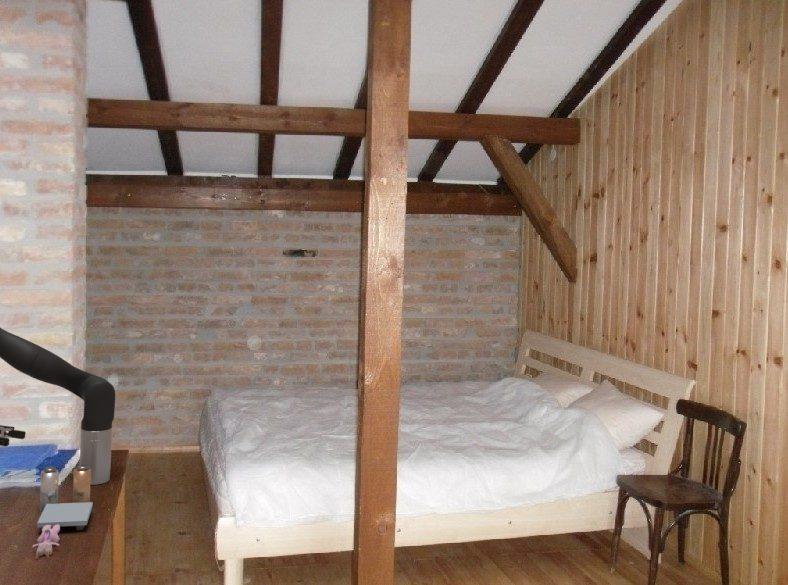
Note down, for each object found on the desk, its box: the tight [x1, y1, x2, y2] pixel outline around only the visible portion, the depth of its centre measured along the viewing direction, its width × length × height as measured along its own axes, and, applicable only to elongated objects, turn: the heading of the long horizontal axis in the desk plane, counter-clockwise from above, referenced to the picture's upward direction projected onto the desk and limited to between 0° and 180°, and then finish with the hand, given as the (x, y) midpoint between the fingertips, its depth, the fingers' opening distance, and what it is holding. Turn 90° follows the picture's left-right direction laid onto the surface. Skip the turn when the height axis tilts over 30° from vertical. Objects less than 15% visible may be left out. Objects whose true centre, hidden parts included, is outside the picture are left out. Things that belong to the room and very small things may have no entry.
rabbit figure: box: [32, 525, 61, 560], centre depth 182 cm, size 6×6×15 cm
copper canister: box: [72, 464, 91, 503], centre depth 209 cm, size 5×5×12 cm
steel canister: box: [39, 466, 60, 513], centre depth 206 cm, size 5×5×12 cm
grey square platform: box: [36, 501, 94, 531], centre depth 197 cm, size 14×12×3 cm
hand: (16, 438), depth 205 cm, fingers open, 8 cm apart
